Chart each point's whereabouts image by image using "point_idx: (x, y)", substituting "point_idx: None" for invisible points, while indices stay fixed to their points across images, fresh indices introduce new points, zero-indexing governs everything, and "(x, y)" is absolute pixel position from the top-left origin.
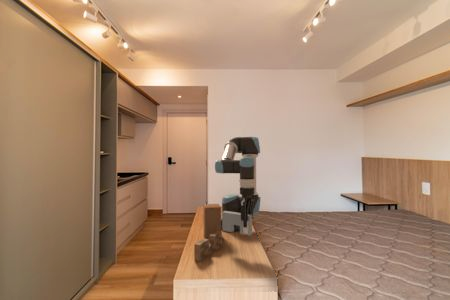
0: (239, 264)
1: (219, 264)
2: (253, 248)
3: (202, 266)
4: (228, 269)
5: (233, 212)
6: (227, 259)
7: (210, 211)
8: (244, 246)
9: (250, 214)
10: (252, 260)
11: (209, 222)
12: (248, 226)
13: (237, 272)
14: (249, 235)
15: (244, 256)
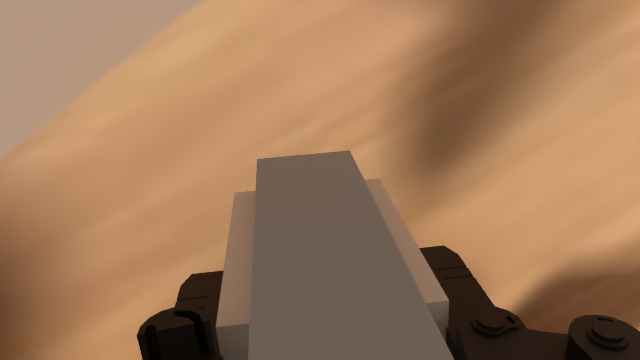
0: (505, 92)
1: (567, 222)
2: (128, 142)
3: (635, 296)
4: (615, 125)
5: None
6: (466, 219)
7: None
8: (146, 235)
9: None
10: (381, 27)
11: None
12: None
13: (637, 38)
14: (348, 156)
15: (344, 130)
